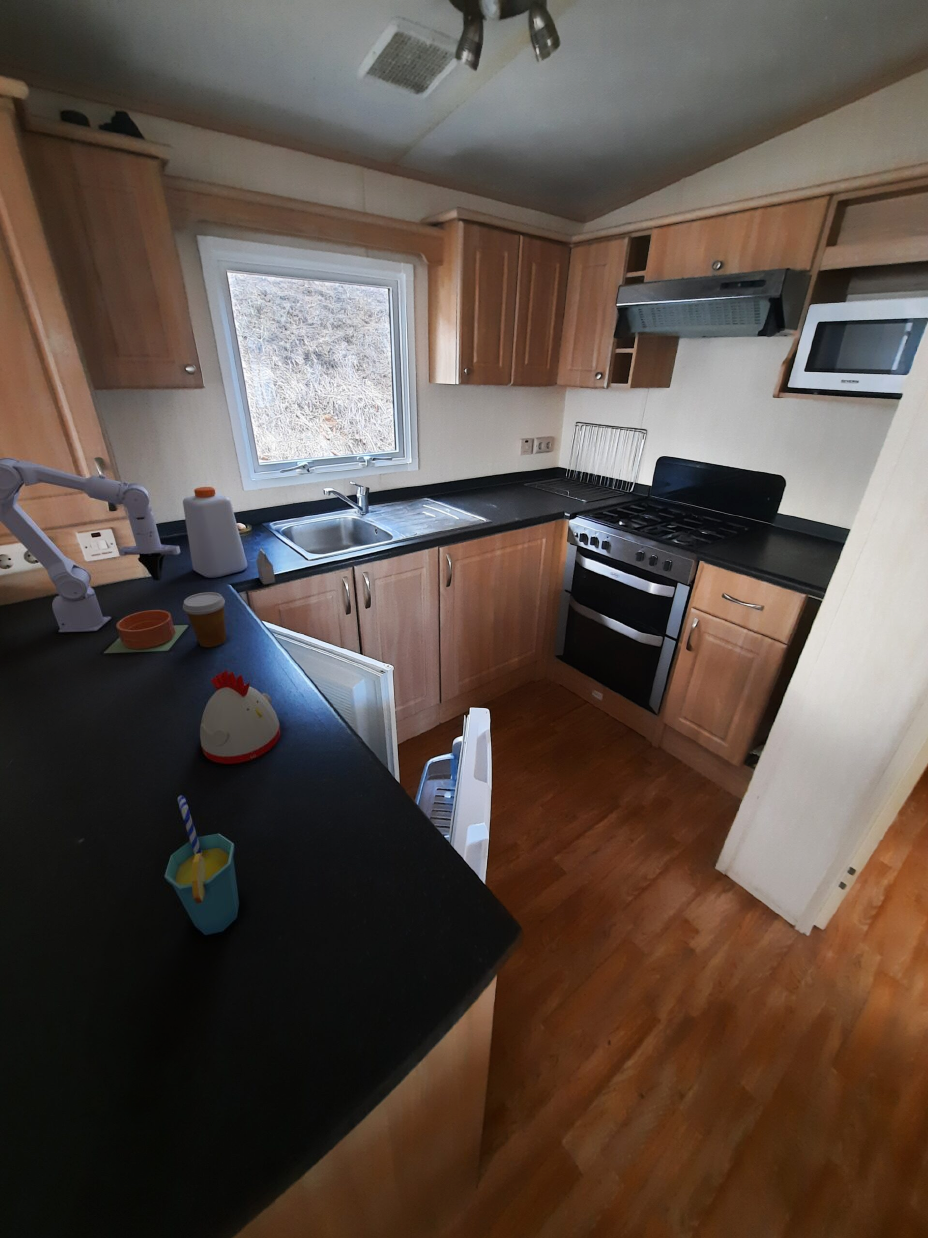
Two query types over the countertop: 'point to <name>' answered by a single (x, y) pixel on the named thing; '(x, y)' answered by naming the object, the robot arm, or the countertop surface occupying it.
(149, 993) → the countertop surface
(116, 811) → the countertop surface
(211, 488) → the plastic bottle
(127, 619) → the bowl
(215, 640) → the disposable coffee cup
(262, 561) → the beige gable carton
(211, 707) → the kitchen timer
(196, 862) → the cup
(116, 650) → the mat
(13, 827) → the countertop surface
